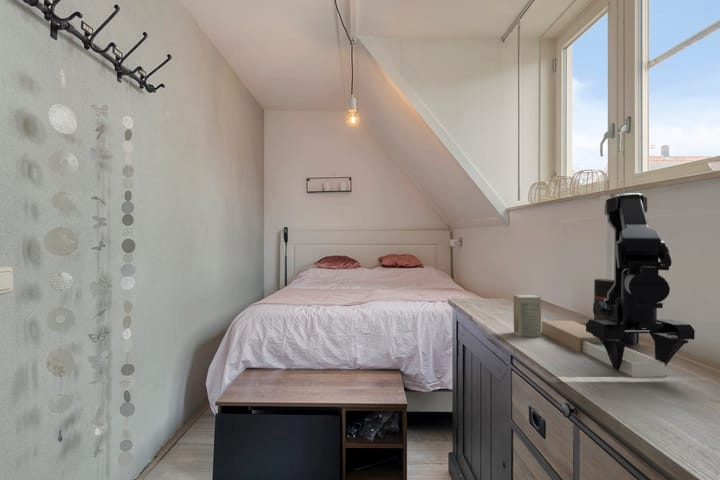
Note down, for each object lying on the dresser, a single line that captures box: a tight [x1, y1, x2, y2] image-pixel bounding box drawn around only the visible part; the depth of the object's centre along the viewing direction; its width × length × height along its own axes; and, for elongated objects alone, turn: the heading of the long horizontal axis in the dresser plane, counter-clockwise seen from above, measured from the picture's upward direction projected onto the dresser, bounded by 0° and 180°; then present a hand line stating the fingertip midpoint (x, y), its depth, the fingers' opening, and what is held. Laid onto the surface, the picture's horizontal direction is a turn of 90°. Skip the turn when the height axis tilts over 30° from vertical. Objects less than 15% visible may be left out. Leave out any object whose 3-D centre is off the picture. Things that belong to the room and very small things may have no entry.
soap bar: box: [593, 344, 606, 350], centre depth 78 cm, size 3×5×2 cm, turn 1°
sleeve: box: [541, 320, 599, 353], centre depth 88 cm, size 9×16×4 cm, turn 1°
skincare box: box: [512, 294, 542, 338], centre depth 94 cm, size 6×4×12 cm
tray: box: [581, 339, 666, 379], centre depth 74 cm, size 7×16×3 cm, turn 1°
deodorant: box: [593, 278, 614, 319], centre depth 107 cm, size 6×6×15 cm
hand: (637, 369), depth 69 cm, fingers open, 9 cm apart
